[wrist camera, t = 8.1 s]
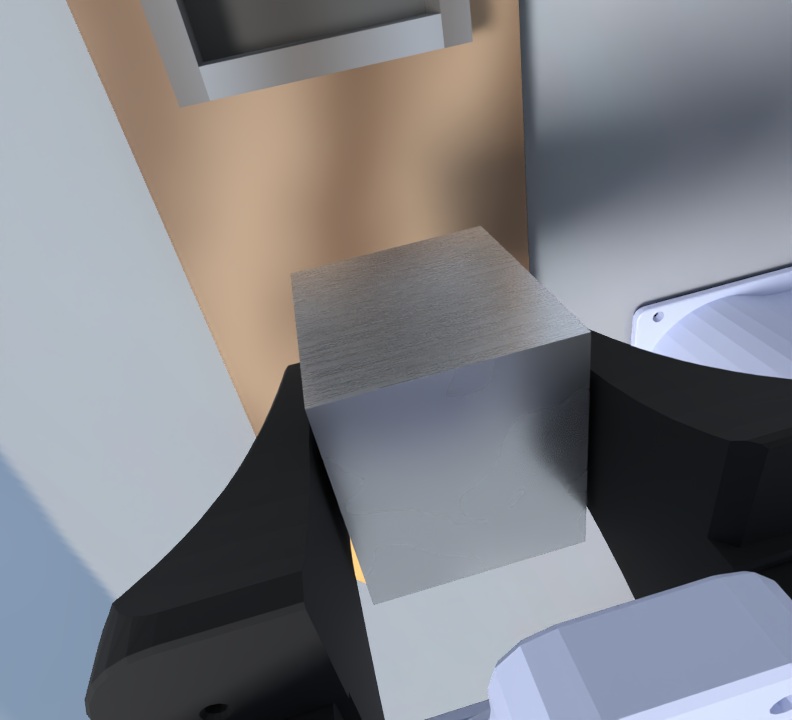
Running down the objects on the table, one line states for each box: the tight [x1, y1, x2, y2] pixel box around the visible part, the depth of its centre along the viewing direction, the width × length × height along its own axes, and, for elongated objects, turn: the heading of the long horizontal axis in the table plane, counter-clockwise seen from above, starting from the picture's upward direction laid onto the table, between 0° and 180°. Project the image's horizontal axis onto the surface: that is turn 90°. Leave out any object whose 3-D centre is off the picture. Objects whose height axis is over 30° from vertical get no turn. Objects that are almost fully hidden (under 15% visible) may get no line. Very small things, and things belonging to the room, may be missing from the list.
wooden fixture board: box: [66, 0, 529, 437], centre depth 18 cm, size 12×30×4 cm, turn 10°
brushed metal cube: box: [290, 226, 591, 605], centre depth 11 cm, size 4×5×5 cm
